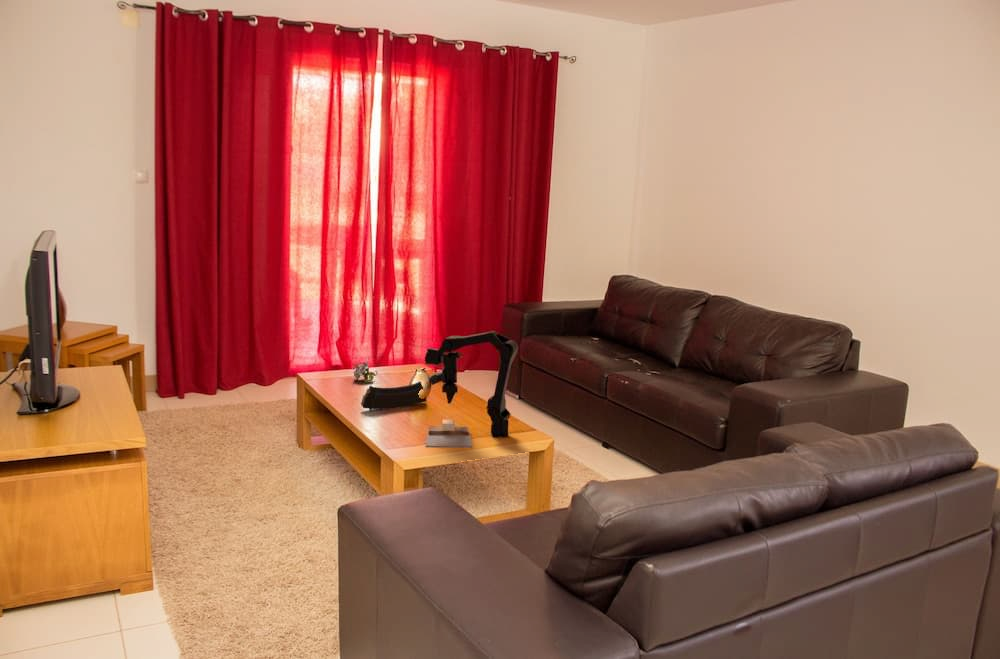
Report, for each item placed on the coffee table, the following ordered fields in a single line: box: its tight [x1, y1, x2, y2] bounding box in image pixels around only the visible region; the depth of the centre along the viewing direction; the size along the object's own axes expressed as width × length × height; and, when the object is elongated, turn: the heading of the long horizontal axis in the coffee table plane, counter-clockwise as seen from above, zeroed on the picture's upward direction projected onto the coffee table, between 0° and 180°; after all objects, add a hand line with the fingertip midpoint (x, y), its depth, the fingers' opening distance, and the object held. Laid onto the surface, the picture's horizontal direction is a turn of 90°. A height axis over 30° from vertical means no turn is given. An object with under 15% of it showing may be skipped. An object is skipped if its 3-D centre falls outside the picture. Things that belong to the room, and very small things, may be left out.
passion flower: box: [352, 360, 378, 384], centre depth 405 cm, size 11×11×12 cm
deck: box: [428, 425, 469, 435], centre depth 333 cm, size 16×6×2 cm, turn 94°
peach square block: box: [441, 419, 456, 431], centre depth 333 cm, size 5×5×3 cm
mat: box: [425, 434, 473, 448], centre depth 324 cm, size 18×13×1 cm
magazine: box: [360, 381, 427, 411], centre depth 364 cm, size 17×3×30 cm
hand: (449, 403), depth 339 cm, fingers closed
